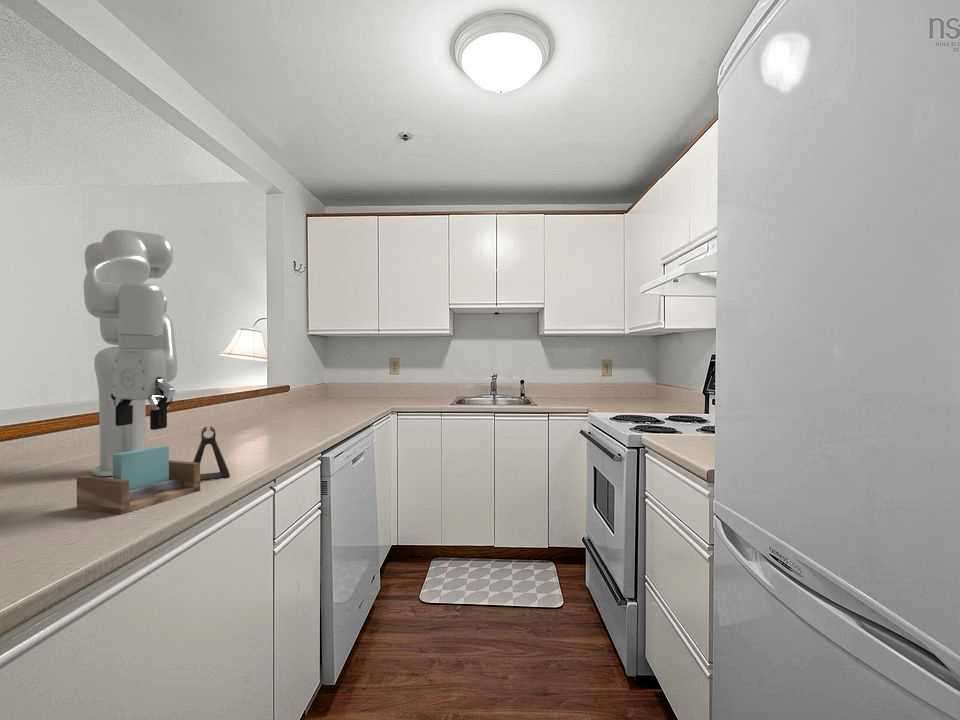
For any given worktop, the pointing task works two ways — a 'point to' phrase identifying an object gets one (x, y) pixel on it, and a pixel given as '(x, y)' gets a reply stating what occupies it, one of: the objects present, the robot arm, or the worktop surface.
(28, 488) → the worktop surface
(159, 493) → the cabinet track
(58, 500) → the worktop surface
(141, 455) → the door panel
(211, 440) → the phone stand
